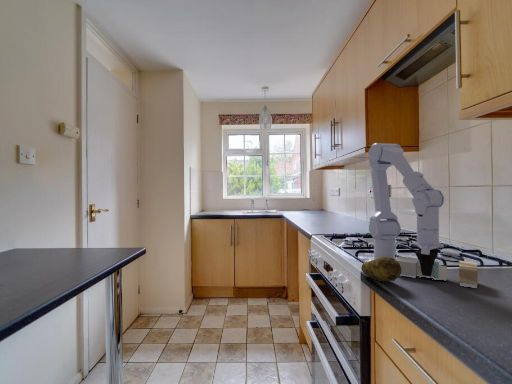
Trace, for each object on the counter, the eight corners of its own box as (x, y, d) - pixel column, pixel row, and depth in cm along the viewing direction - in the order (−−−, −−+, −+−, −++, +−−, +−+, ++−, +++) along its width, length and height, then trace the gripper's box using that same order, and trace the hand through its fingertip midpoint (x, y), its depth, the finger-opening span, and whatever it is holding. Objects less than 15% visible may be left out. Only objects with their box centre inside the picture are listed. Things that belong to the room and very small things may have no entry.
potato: (385, 274, 87) (385, 249, 87) (406, 290, 74) (406, 260, 74) (359, 274, 87) (359, 249, 87) (375, 289, 75) (375, 260, 74)
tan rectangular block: (459, 279, 82) (459, 260, 82) (476, 282, 80) (476, 262, 79) (459, 286, 77) (459, 265, 77) (477, 289, 74) (477, 268, 74)
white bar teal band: (402, 270, 90) (402, 257, 90) (447, 277, 83) (447, 262, 83) (399, 274, 86) (399, 260, 86) (446, 282, 79) (446, 266, 79)
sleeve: (398, 270, 92) (398, 256, 92) (418, 273, 88) (418, 258, 88) (394, 275, 87) (394, 260, 86) (416, 278, 83) (416, 263, 83)
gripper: (442, 233, 76) (442, 282, 76) (444, 227, 87) (444, 269, 87) (412, 231, 80) (412, 277, 80) (419, 225, 91) (419, 266, 92)
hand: (427, 273), depth 84 cm, fingers closed on white bar teal band, 5 cm apart
